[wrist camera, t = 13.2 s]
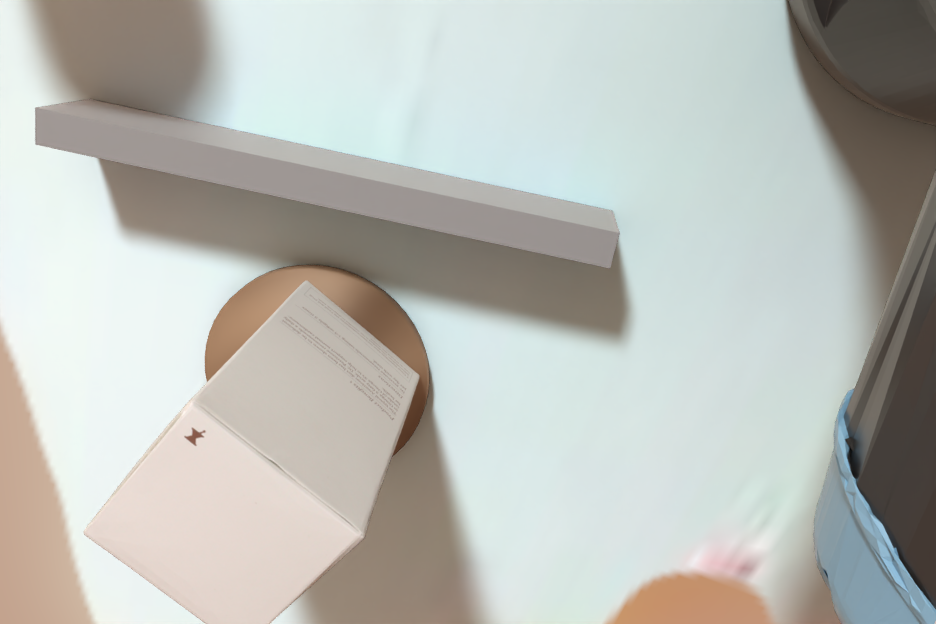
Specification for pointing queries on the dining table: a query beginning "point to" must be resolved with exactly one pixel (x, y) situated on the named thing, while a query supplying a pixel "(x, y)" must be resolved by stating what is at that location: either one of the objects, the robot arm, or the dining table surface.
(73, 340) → the dining table surface
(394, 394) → the supplement box
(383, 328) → the coaster
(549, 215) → the low wall
